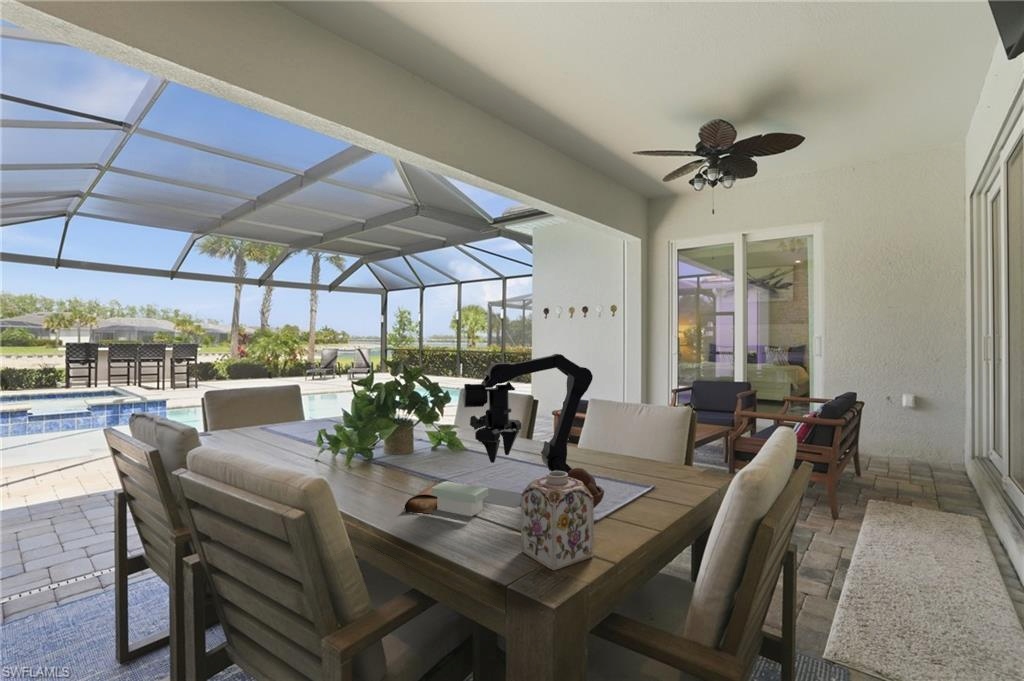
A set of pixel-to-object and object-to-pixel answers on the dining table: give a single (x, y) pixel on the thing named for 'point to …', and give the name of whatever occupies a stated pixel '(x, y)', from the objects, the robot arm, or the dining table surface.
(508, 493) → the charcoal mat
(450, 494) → the sage lid
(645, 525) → the dining table surface
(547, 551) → the decorative jar
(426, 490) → the sunglasses case
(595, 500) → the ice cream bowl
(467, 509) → the white rectangular box
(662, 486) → the dining table surface
